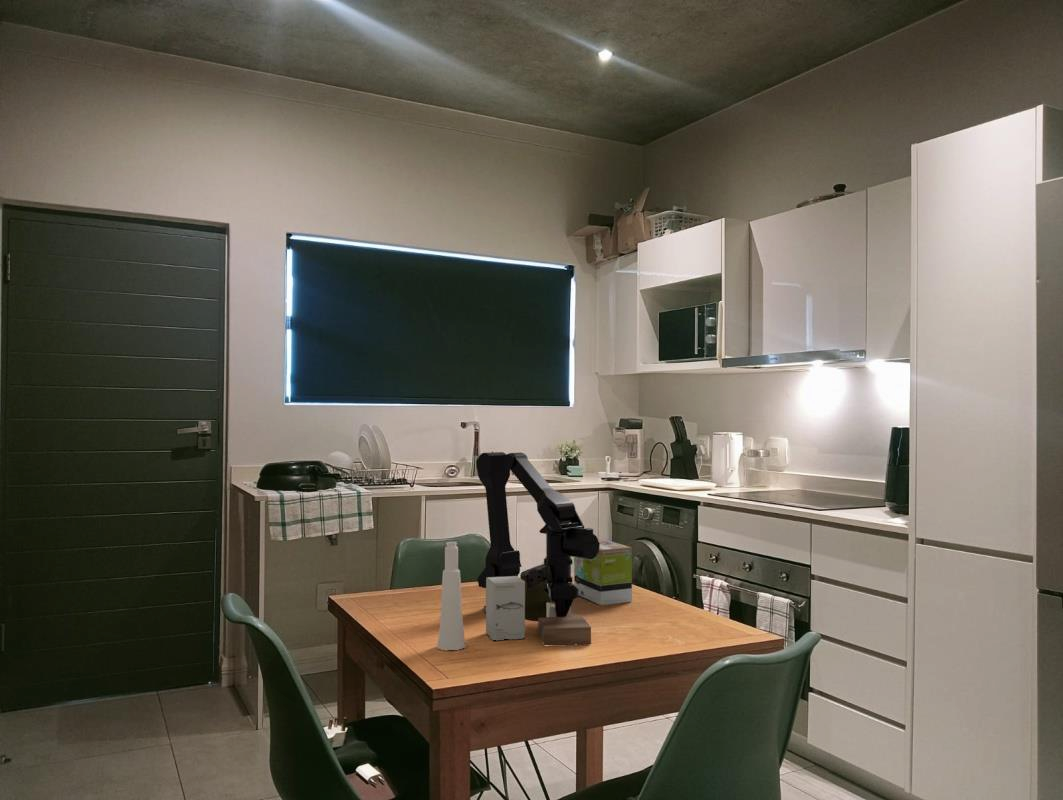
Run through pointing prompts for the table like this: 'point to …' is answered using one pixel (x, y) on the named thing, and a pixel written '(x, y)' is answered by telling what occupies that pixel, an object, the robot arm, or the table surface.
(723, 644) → the table surface
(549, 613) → the ceramic cube
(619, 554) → the tea box
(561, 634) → the walnut block
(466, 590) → the table surface
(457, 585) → the cosmetic bottle
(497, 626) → the supplement box
